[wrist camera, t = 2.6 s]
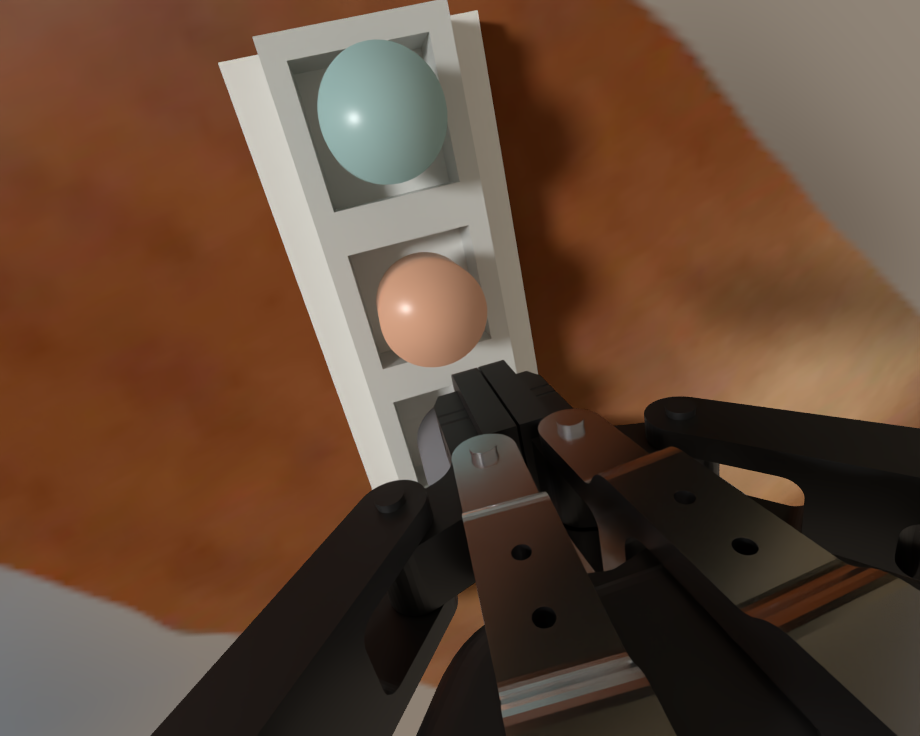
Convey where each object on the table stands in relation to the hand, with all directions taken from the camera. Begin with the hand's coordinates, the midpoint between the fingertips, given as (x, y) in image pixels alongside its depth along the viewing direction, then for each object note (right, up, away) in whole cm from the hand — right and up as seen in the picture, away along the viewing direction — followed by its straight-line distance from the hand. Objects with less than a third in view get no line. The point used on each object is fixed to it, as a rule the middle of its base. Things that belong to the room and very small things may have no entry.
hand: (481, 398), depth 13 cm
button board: (-3, +6, +14) cm, 16 cm away
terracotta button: (-2, +4, +10) cm, 12 cm away
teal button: (-4, +11, +7) cm, 14 cm away
